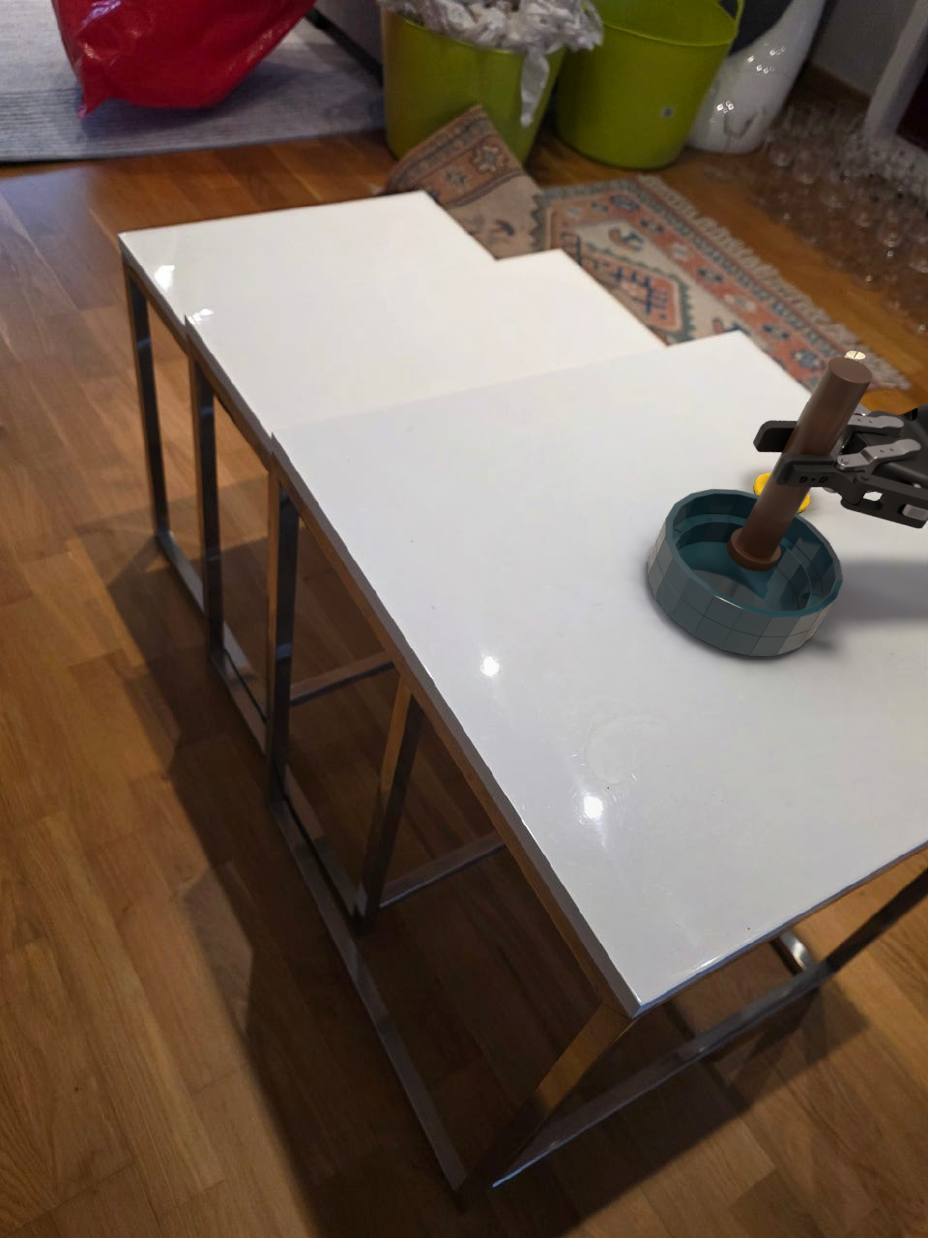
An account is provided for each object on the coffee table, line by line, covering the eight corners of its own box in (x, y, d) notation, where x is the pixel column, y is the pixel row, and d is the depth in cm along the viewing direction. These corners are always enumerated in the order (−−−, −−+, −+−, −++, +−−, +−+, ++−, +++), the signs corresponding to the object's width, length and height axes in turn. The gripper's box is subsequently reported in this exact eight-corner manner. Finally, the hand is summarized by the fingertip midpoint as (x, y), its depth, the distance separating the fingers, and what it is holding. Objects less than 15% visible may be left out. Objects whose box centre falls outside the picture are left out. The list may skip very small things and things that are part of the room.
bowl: (849, 635, 77) (879, 593, 74) (712, 679, 72) (738, 635, 68) (744, 520, 85) (766, 476, 82) (613, 551, 79) (631, 505, 76)
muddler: (786, 565, 75) (893, 383, 63) (747, 576, 73) (849, 391, 61) (755, 532, 77) (852, 348, 65) (716, 541, 76) (809, 355, 63)
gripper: (952, 357, 73) (750, 349, 69) (1060, 478, 64) (836, 477, 60) (903, 436, 79) (713, 433, 75) (996, 557, 70) (787, 562, 66)
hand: (769, 453), depth 67 cm, fingers closed on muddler, 3 cm apart
